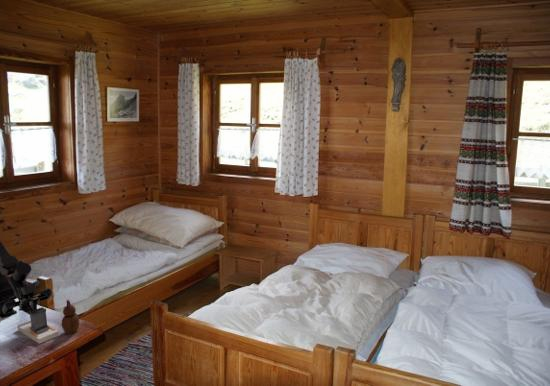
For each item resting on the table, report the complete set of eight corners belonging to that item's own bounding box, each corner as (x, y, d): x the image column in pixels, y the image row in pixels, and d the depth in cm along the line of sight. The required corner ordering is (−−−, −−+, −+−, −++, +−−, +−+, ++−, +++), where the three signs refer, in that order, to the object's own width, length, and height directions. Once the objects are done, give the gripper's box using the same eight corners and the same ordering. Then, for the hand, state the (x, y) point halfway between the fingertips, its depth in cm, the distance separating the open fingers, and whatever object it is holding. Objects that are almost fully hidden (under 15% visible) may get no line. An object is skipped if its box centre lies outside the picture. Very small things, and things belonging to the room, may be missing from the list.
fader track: (18, 330, 195) (17, 325, 195) (37, 322, 202) (36, 318, 201) (39, 343, 185) (38, 338, 184) (58, 335, 191) (58, 330, 190)
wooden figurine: (72, 336, 190) (69, 302, 187) (60, 334, 192) (56, 300, 188) (82, 328, 197) (79, 295, 194) (70, 326, 198) (67, 294, 195)
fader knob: (29, 329, 191) (27, 311, 190) (42, 324, 196) (40, 306, 194) (36, 333, 188) (34, 315, 186) (49, 328, 192) (47, 310, 190)
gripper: (1, 284, 184) (17, 317, 180) (47, 270, 199) (63, 300, 194) (-5, 297, 191) (11, 330, 186) (40, 283, 205) (56, 313, 201)
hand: (36, 317), depth 192 cm, fingers closed, pressing on fader knob
